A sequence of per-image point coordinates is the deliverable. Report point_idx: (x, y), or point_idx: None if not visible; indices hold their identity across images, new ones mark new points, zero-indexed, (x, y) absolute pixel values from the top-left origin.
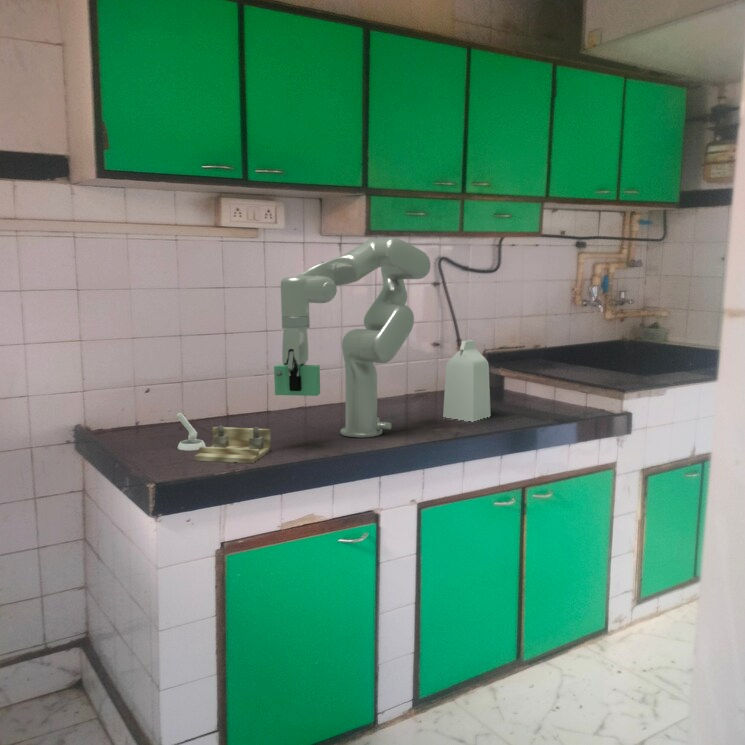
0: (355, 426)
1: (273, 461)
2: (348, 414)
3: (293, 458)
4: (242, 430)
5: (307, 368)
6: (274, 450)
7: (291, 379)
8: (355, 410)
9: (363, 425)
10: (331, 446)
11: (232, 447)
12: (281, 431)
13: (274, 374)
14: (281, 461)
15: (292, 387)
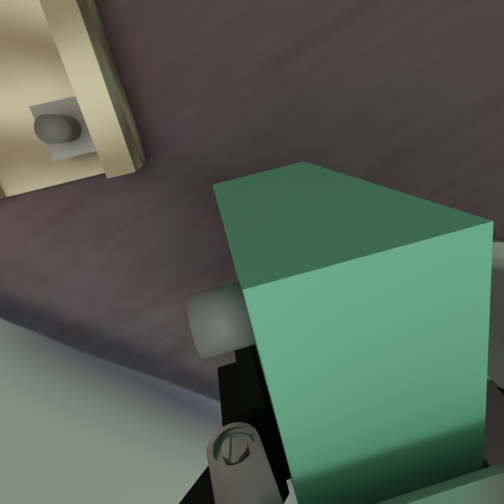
0: None
1: (21, 255)
2: (493, 313)
3: (96, 289)
4: (52, 27)
5: None
6: (158, 171)
7: (223, 419)
8: (494, 354)
9: None
10: None
11: (34, 7)
12: (461, 12)
13: (229, 234)
14: (39, 278)
15: (218, 371)
